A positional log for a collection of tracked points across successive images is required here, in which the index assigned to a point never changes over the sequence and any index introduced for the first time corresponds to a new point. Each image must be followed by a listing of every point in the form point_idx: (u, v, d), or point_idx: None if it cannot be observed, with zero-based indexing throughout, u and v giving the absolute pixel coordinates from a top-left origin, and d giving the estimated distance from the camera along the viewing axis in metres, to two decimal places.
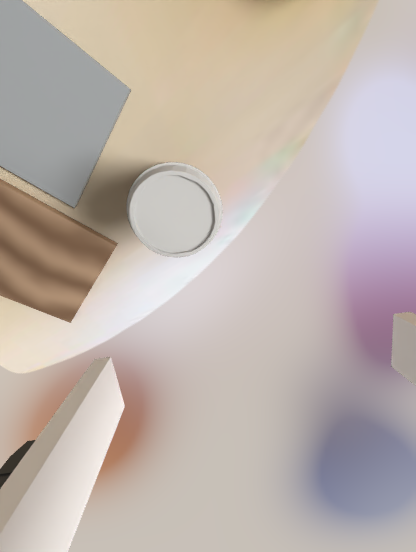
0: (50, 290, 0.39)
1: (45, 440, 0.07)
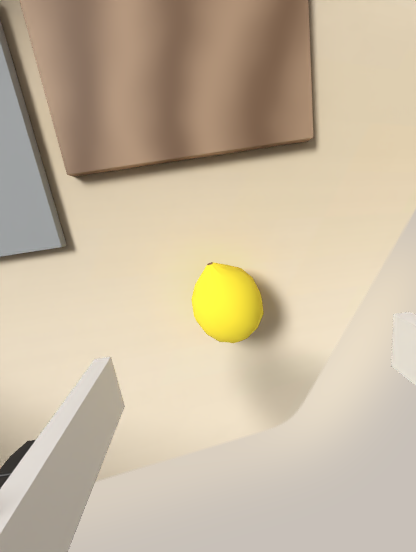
0: None
1: (45, 440, 0.07)
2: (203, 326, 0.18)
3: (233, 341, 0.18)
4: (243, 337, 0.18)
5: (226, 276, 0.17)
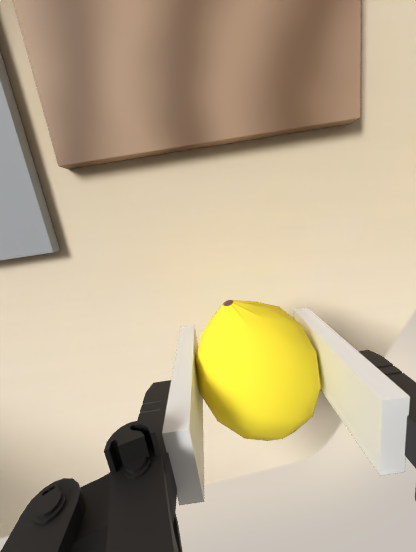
0: None
1: (180, 376, 0.09)
2: (215, 414, 0.10)
3: (268, 439, 0.10)
4: (287, 435, 0.10)
5: (259, 329, 0.09)
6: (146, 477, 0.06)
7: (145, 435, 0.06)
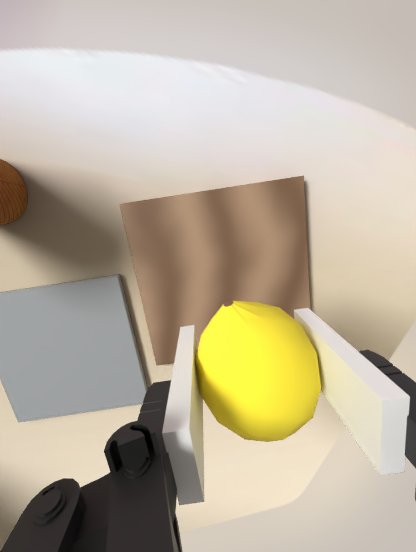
0: (256, 236, 0.25)
1: (180, 376, 0.09)
2: (216, 415, 0.10)
3: (269, 440, 0.10)
4: (287, 435, 0.10)
5: (259, 330, 0.09)
6: (146, 477, 0.06)
7: (145, 435, 0.06)
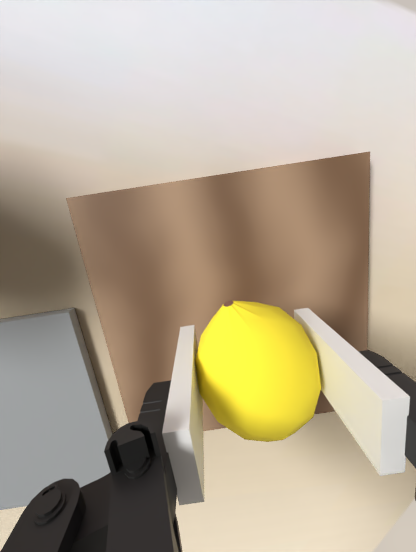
0: (289, 249, 0.16)
1: (180, 376, 0.09)
2: (216, 415, 0.10)
3: (269, 440, 0.10)
4: (287, 435, 0.10)
5: (259, 330, 0.09)
6: (146, 477, 0.06)
7: (145, 435, 0.06)
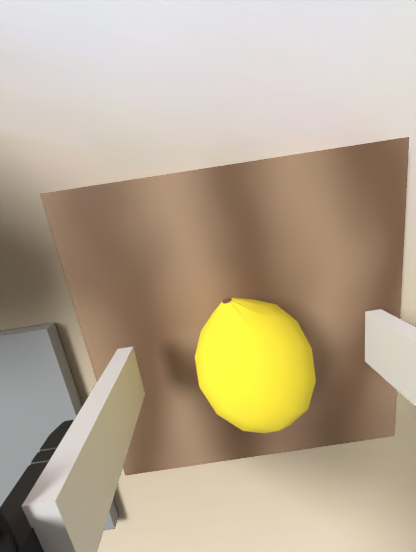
0: (309, 255, 0.13)
1: (84, 418, 0.08)
2: (215, 408, 0.10)
3: (266, 432, 0.10)
4: (284, 427, 0.10)
5: (256, 325, 0.10)
6: None
7: None
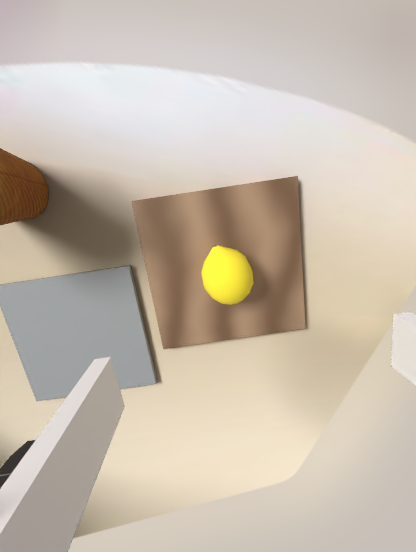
0: (255, 230, 0.27)
1: (45, 440, 0.07)
2: (209, 290, 0.25)
3: (231, 302, 0.25)
4: (238, 299, 0.25)
5: (226, 254, 0.24)
6: None
7: None
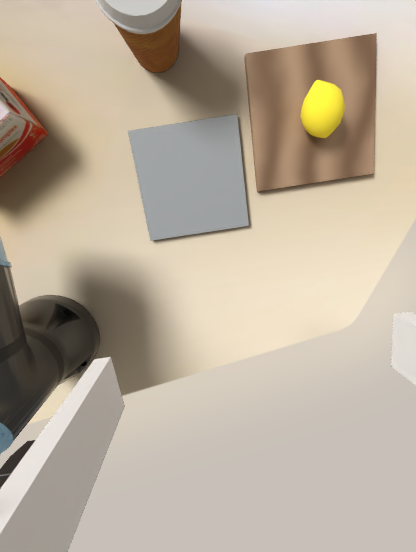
0: (340, 81, 0.35)
1: (45, 440, 0.07)
2: (312, 115, 0.32)
3: (328, 125, 0.32)
4: (334, 122, 0.32)
5: (327, 83, 0.31)
6: None
7: None
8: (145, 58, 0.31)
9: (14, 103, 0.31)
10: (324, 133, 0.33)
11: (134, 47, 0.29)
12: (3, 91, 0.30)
